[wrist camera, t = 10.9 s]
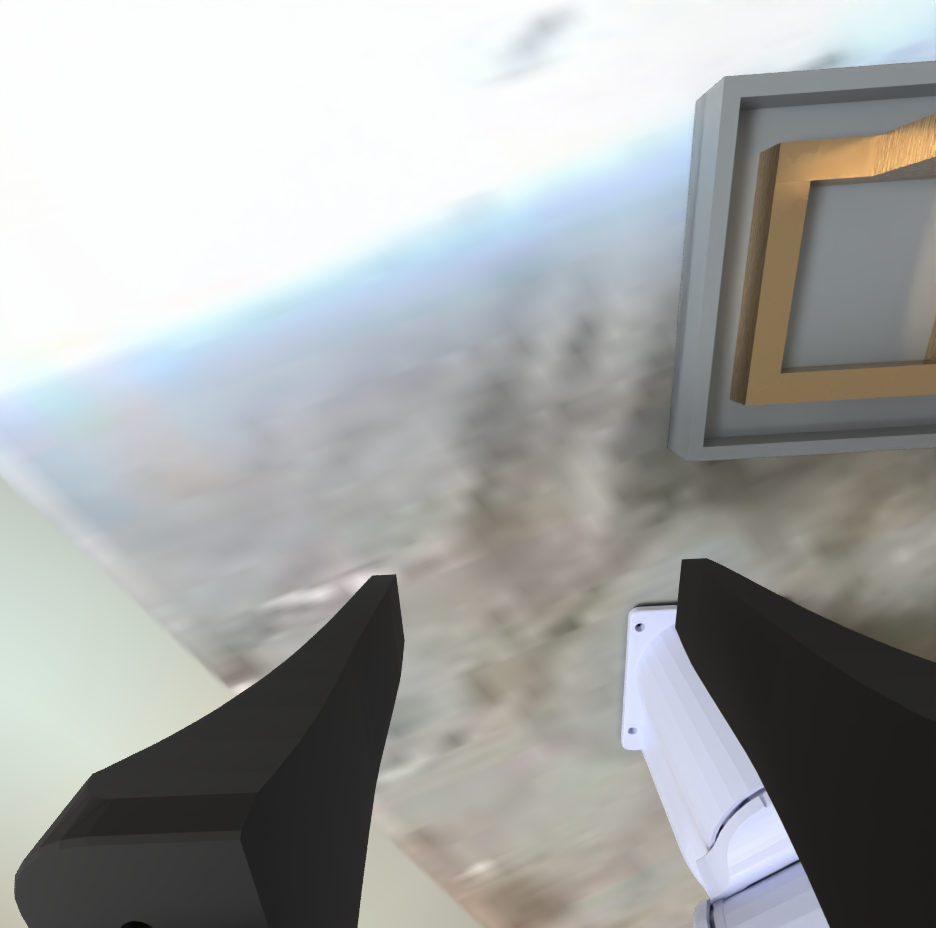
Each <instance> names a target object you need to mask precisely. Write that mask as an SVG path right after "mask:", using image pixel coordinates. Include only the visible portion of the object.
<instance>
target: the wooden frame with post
mask: <svg viewBox="0 0 936 928" xmlns="http://www.w3.org/2000/svg"><path fill="white" fill-rule="evenodd" d="M933 178H936V113H934V114H931V115H929V116H926V117H924V118H921V119H919V120H916V121H914V122H911V123H909V124H906V125H904V126H901V127H899V128H896V129H894V130H891V131H889V132H886V133H884V134H881V135H877V136H863V137H849V138H835V139H821V140H807V141H792V142H781V143H779V144H777V145H775V146H773V147H771V148H769V149H767V150H765V151H763V152H761V153H760V157H759V165H758V173H757V181H756V189H755V197H754V205H753V213H752V221H751V229H750V237H749V245H748V253H747V261H746V269H745V277H744V285H743V293H742V302H741V310H740V318H739V326H738V334H737V342H736V350H735V358H734V366H733V374H732V382H731V390H730V398H729V400H732V401H734V402H737V403H740V404H742V405H745V406H747V405H764V404H781V403H797V402H814V401H831V400H848V399H865V398H881V397H898V396H915V395H932V394H936V315H935V319H934V322H933V326H932V330H931V334H930V338H929V342H928V346H927V350H926V354H925V358H924V359H922V360H906V361H890V362H873V363H857V364H840V365H824V366H808V367H791V368H781V366H782V360H783V353H784V347H785V341H786V334H787V328H788V322H789V315H790V309H791V302H792V296H793V290H794V283H795V277H796V271H797V264H798V258H799V252H800V245H801V239H802V233H803V226H804V220H805V214H806V207H807V201H808V195H809V188H810V187H817V186H831V185H846V184H860V183H875V182H890V181H904V180H919V179H933Z"/></svg>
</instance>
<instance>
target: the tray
mask: <svg viewBox="0 0 936 928" xmlns="http://www.w3.org/2000/svg"><path fill="white" fill-rule="evenodd" d="M934 113H936V61H926V62H913V63H899V64H886V65H873V66H859V67H846V68H832V69H819V70H806V71H792V72H779V73H765V74H752V75H739V76H725V77H723V78H722V79H721V80H720V81H719V82H718V83H716V84H715V85H714V86H713V87H712V88H711V89H710V90H708V91H707V92H706V93H705V94H704V95H703V96H702V97H700V98H699V99H698V100H697V101H696V108H695V120H694V132H693V144H692V156H691V168H690V181H689V193H688V205H687V217H686V229H685V241H684V253H683V266H682V278H681V290H680V302H679V314H678V326H677V339H676V351H675V363H674V375H673V387H672V399H671V412H670V424H669V436H668V448H669V449H670V450H671V451H673V452H674V453H676V454H677V455H678V456H680V457H681V458H682V459H684V460H685V461H686V462H693V461H710V460H727V459H745V458H762V457H779V456H796V455H813V454H831V453H848V452H865V451H882V450H900V449H917V448H934V447H936V394H932V395H915V396H898V397H881V398H865V399H848V400H831V401H814V402H797V403H781V404H764V405H747V406H745V405H742V404H740V403H737V402H734V401H732V400H729V398H730V390H731V382H732V374H733V366H734V358H735V350H736V342H737V334H738V326H739V318H740V310H741V302H742V293H743V285H744V277H745V269H746V261H747V253H748V245H749V237H750V229H751V221H752V213H753V205H754V197H755V189H756V181H757V173H758V165H759V157H760V153H761V152H763V151H765V150H767V149H769V148H771V147H773V146H775V145H777V144H779V143H781V142H792V141H807V140H821V139H835V138H849V137H863V136H877V135H881V134H884V133H886V132H889V131H891V130H894V129H896V128H899V127H901V126H904V125H906V124H909V123H911V122H914V121H916V120H919V119H921V118H924V117H926V116H929V115H931V114H934ZM935 315H936V178H933V179H919V180H904V181H890V182H875V183H860V184H846V185H831V186H817V187H810V188H809V195H808V201H807V207H806V214H805V220H804V226H803V233H802V239H801V245H800V252H799V258H798V264H797V271H796V277H795V283H794V290H793V296H792V302H791V309H790V315H789V322H788V328H787V334H786V341H785V347H784V353H783V360H782V366H781V368H791V367H808V366H824V365H840V364H857V363H873V362H890V361H906V360H922V359H924V358H925V354H926V350H927V346H928V342H929V338H930V334H931V330H932V326H933V322H934V319H935Z"/></svg>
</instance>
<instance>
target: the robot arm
mask: <svg viewBox="0 0 936 928" xmlns="http://www.w3.org/2000/svg"><path fill="white" fill-rule="evenodd" d="M639 623H642V625H641V626H638V627H635V626H636V625H637V624H639ZM403 650H404V633H403V625H402V617H401V610H400V602H399V594H398V586H397V578H396V574H395V575H375V576H371V578H370V579H369V580H368V581H367V582H366V583H365V584H364V585H363V586H362V587H361V588H360V589H359V590H358V591H357V592H356V593H355V594H354V596H353V597H352V598H351V599H350V600H349V601H348V602H347V603H346V604H345V605H344V606H343V607H342V608H341V609H340V611H339V612H338V613H337V614H336V615H335V616H334V617H333V618H332V619H331V620H330V621H329V622H328V623H327V624H326V625H325V626H324V627H323V628H322V629H321V630H319V631H318V632H317V633H316V634H315V635H314V636H313V637H312V638H311V639H310V640H309V641H308V642H307V643H305V644H304V645H303V646H302V647H301V648H300V649H299V650H298V651H297V652H295V653H294V654H293V655H292V656H291V657H289V658H288V659H287V660H286V661H284V662H283V663H282V664H281V665H279V666H278V667H277V668H275V669H274V670H273V671H272V672H270V673H269V674H268V675H266V676H265V677H264V678H262V679H261V680H260V681H258V682H257V683H255V684H254V685H252V686H251V687H249V688H248V689H246V690H245V691H243V692H242V693H240V694H239V695H237V696H236V697H234V698H233V699H231V700H230V701H228V702H227V703H225V704H224V705H222V706H221V707H220V708H218V709H216V710H214V711H213V712H211V713H210V714H208V715H206V716H204V717H203V718H201V719H199V720H198V721H196V722H194V723H192V724H191V725H189V726H187V727H185V728H184V729H182V730H180V731H178V732H176V733H175V734H173V735H171V736H169V737H167V738H165V739H163V740H161V741H160V742H158V743H156V744H154V745H152V746H150V747H148V748H146V749H144V750H142V751H139V752H138V753H135V754H133V755H131V756H129V757H127V758H125V759H123V760H121V761H119V762H117V763H115V764H113V765H111V766H109V767H107V768H105V769H103V770H100V771H98V772H96V773H94V774H92V776H91V777H90V778H89V779H88V780H87V781H86V782H85V784H84V785H83V786H82V787H81V789H80V790H79V791H78V792H77V794H76V795H75V796H74V797H73V799H72V800H71V801H70V802H69V804H68V805H67V806H66V807H65V809H64V810H63V811H62V813H61V814H60V815H59V816H58V818H57V819H56V820H55V821H54V823H53V824H52V825H51V826H50V828H49V829H48V830H47V831H46V833H45V834H44V835H43V836H42V838H41V839H40V840H39V842H38V843H37V844H36V845H35V846H34V848H33V849H32V850H31V851H30V853H29V854H28V855H27V857H26V858H25V859H24V860H23V862H22V864H21V866H20V867H19V869H18V871H17V873H16V875H15V888H14V893H15V900H16V903H17V905H18V908H19V910H20V913H21V915H22V917H23V919H24V920H25V922H26V924H27V925H28V927H29V928H357V925H358V918H359V908H360V900H361V892H362V884H363V876H364V868H365V860H366V853H367V845H368V837H369V830H370V823H371V816H372V809H373V802H374V795H375V788H376V783H377V778H378V772H379V767H380V763H381V759H382V755H383V750H384V746H385V742H386V738H387V734H388V729H389V725H390V721H391V717H392V713H393V708H394V704H395V700H396V695H397V691H398V687H399V682H400V677H401V669H402V660H403ZM632 727H633V728H632ZM621 742H622V745H623V747H624V748H625V749H627V750H642V752H643V755H644V757H645V760H646V762H647V765H648V768H649V770H650V773H651V775H652V778H653V781H654V783H655V786H656V788H657V791H658V793H659V796H660V799H661V801H662V804H663V806H664V809H665V812H666V814H667V817H668V819H669V822H670V825H671V827H672V830H673V832H674V835H675V837H676V840H677V843H678V845H679V848H680V850H681V853H682V855H683V857H684V859H685V861H686V863H687V865H688V867H689V868H690V870H691V872H692V873H693V875H694V876H695V877H696V879H697V880H698V881H699V882H700V884H701V885H702V886H703V887H704V888H705V889H706V891H707V894H708V896H709V898H708V899H705V900H703V901H700V902H699V904H698V905H697V906H696V907H695V911H694V917H693V926H694V928H936V663H935V662H932V661H929V660H926V659H923V658H920V657H918V656H915V655H912V654H910V653H907V652H904V651H901V650H899V649H896V648H894V647H891V646H889V645H886V644H884V643H881V642H879V641H876V640H874V639H872V638H869V637H867V636H864V635H862V634H859V633H857V632H855V631H852V630H850V629H848V628H845V627H843V626H841V625H839V624H837V623H835V622H832V621H830V620H828V619H826V618H824V617H822V616H820V615H818V614H815V613H813V612H811V611H809V610H807V609H805V608H803V607H801V606H799V605H797V604H795V603H793V602H791V601H789V600H787V599H785V598H783V597H781V596H780V595H778V594H776V593H774V592H772V591H770V590H768V589H766V588H764V587H762V586H761V585H759V584H757V583H755V582H753V581H751V580H749V579H747V578H746V577H744V576H742V575H740V574H738V573H736V572H734V571H732V570H730V569H728V568H726V567H725V566H723V565H720V564H718V563H716V562H714V561H712V560H709V559H707V558H702V559H683V560H682V564H681V574H680V583H679V593H678V602H677V605H666V606H647V607H636V608H634V609H632V610H631V611H630V612H629V616H628V633H627V649H626V666H625V682H624V698H623V715H622V731H621Z"/></svg>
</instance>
